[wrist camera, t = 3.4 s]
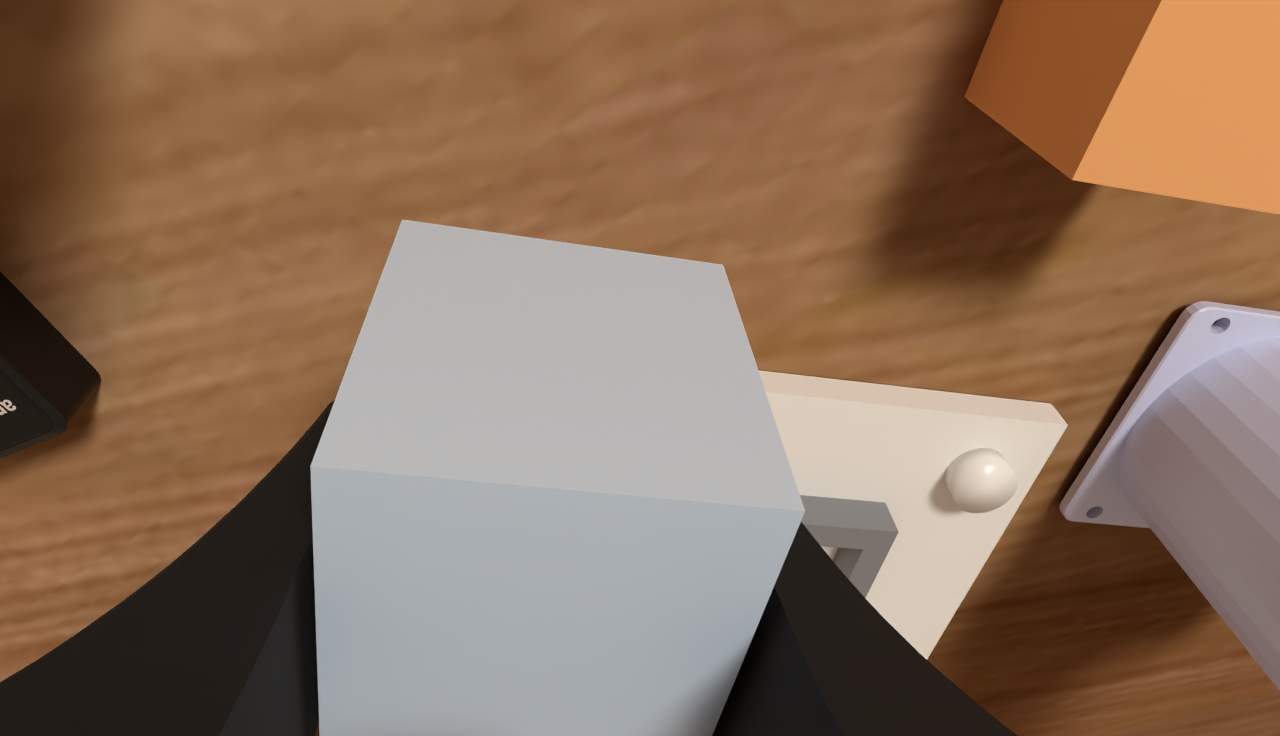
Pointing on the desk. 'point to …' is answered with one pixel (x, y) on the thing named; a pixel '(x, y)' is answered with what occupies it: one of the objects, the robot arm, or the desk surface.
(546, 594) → the light grey block
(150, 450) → the desk surface
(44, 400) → the multiport hub
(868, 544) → the baseplate
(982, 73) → the orange brick
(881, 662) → the robot arm
